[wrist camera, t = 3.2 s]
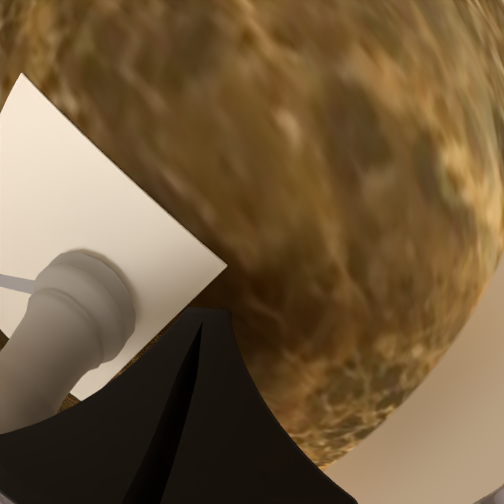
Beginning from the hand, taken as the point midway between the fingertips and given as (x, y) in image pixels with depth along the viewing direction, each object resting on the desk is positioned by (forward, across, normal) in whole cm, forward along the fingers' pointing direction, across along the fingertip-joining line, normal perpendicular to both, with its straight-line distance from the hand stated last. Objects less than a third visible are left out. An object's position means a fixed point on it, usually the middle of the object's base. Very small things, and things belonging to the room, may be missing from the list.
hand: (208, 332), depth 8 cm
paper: (+1, +9, 0) cm, 9 cm away
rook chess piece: (+1, +5, 0) cm, 5 cm away
